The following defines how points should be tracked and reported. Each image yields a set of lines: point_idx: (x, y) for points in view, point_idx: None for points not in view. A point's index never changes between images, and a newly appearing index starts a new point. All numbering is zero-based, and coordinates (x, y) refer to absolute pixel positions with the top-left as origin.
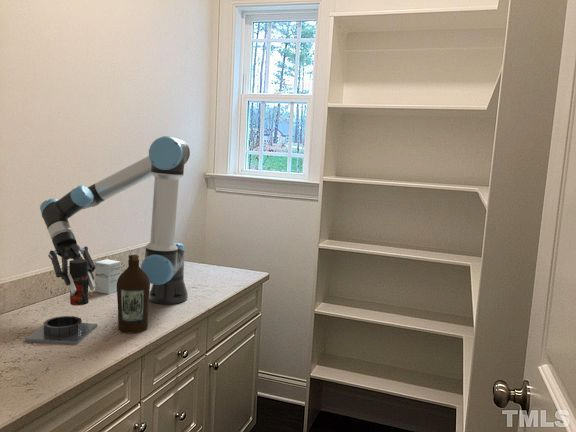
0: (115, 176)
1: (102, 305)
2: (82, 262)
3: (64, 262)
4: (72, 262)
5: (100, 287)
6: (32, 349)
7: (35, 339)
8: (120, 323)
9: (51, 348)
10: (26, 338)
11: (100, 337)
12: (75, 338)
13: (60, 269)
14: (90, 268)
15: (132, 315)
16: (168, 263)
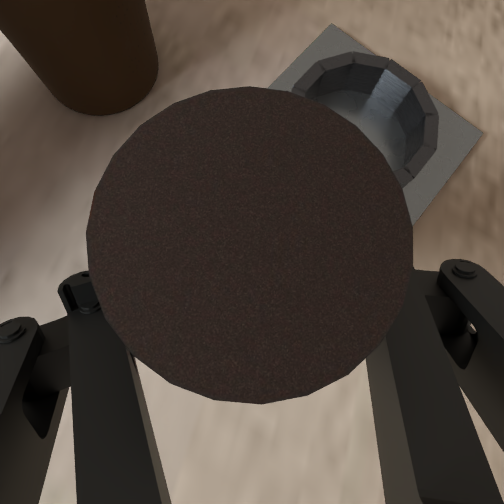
0: None
1: (65, 445)
2: (230, 94)
3: (456, 401)
4: (375, 181)
5: None
6: (457, 66)
7: (449, 110)
8: (151, 32)
9: (404, 45)
10: (477, 131)
11: (240, 50)
12: (328, 49)
13: (473, 296)
14: (85, 282)
15: None
16: None
